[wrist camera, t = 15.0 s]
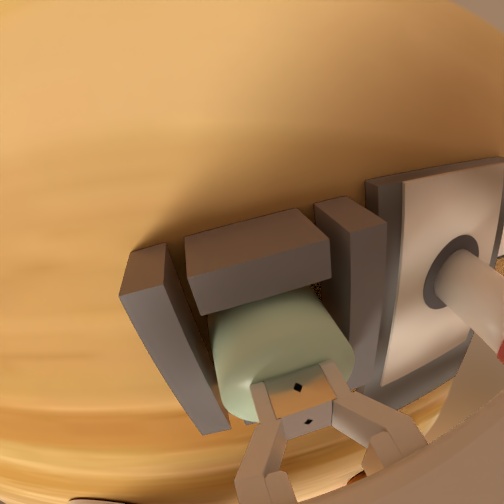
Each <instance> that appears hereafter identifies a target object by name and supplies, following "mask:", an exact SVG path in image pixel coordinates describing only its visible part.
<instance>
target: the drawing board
mask: <svg viewBox="0 0 504 504" xmlns="http://www.w3.org/2000/svg"><path fill="white" fill-rule="evenodd" d="M365 190H366V209H368V210H369V211H371V212H372V213H374V214H375V215H377V216H378V217H380V218H381V219H383V220H384V221H386V222H387V244H386V265H385V279H384V292H383V302H382V312H381V321H380V329H379V336H378V344H377V350H376V357H375V363H374V369H373V375H372V380H371V382H369V383H367V384H364V385H362V386H360V387H357V391H356V392H359V393H361V394H363V395H365V396H367V397H369V398H371V399H373V400H375V401H377V402H380V403H382V404H384V405H386V406H388V407H390V408H393V409H395V410H398V409H400V408H402V407H404V406H406V405H408V404H410V403H411V402H413V401H415V400H417V399H419V398H420V397H422V396H424V395H426V394H427V393H429V392H431V391H432V390H434V389H436V388H437V387H439V386H441V385H442V384H444V383H445V382H447V381H449V380H450V379H452V378H453V377H455V376H456V374H457V371H458V369H459V367H460V365H461V362H462V360H463V358H464V356H465V354H466V351H467V349H468V346H469V344H470V342H471V339H472V337H473V334H474V331H473V330H472V329H471V328H470V327H469V326H468V325H467V324H466V323H465V322H464V321H463V320H462V319H461V318H460V317H459V316H458V315H457V314H456V313H455V312H453V311H452V310H451V309H450V308H449V307H448V306H447V305H446V304H445V303H444V302H443V301H442V300H440V299H439V298H438V297H437V296H436V294H435V290H434V286H435V281H436V277H437V275H438V273H439V270H440V269H441V267H442V265H443V264H444V262H445V261H446V260H447V259H448V257H449V256H450V255H452V254H453V253H454V252H456V251H457V250H460V249H466V250H467V251H469V252H470V253H472V254H473V255H475V256H476V257H478V258H479V259H480V260H482V261H483V262H485V263H486V264H488V265H489V266H490V267H492V268H493V269H495V265H496V261H497V256H498V252H499V248H500V243H501V238H502V233H503V228H504V158H503V157H493V158H486V159H480V160H473V161H467V162H461V163H455V164H449V165H443V166H437V167H432V168H426V169H421V170H415V171H410V172H405V173H400V174H394V175H389V176H384V177H379V178H374V179H369V180H365Z"/></svg>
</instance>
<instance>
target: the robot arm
mask: <svg viewBox="0 0 504 504" xmlns="http://www.w3.org/2000/svg"><path fill="white" fill-rule="evenodd" d="M249 387H250V392H251V395H252V399H253V402H254V406H255V409H256V412H257V416H258V419H259V422H260V425H256V427H255V429H254V432H253V435H252V437H251V440H250V442H249V445H248V447H247V450H246V452H245V455H244V457H243V460H242V462H241V465H240V467H239V469H238V472H237V474H236V477H235V479H234V484H235V489H236V493H237V497H238V501H239V504H504V389H503V390H502V391H501V392H499V393H498V394H497V395H496V396H495V397H494V398H492V399H491V400H490V401H489V402H487V403H486V404H485V405H484V406H482V407H481V408H480V409H479V410H477V411H476V412H475V413H473V414H472V415H471V416H469V417H468V418H467V419H465V420H464V421H463V422H461V423H460V424H458V425H457V426H455V427H454V428H453V429H451V430H450V431H448V432H447V433H445V434H444V435H442V436H441V437H439V438H437V439H436V440H434V441H433V442H431V443H429V444H428V443H427V442H426V440H425V438H424V437H423V435H422V434H421V432H420V431H419V429H418V427H417V426H416V424H415V423H414V421H413V420H412V418H411V417H410V416H408V415H406V414H404V413H402V412H399V411H397V410H395V409H393V408H390V407H388V406H386V405H384V404H382V403H380V402H377V401H375V400H373V399H371V398H369V397H367V396H365V395H363V394H361V393H359V392H356V391H355V392H353V393H352V392H351V390H350V388H349V386H348V385H347V383H346V381H345V379H344V378H343V376H342V374H341V373H340V371H339V369H338V367H337V366H336V364H335V362H334V361H333V360H332V359H329V360H327V361H324V362H321V363H319V364H315V365H312V366H309V367H306V368H304V369H301V370H298V371H295V372H292V373H291V374H287V375H284V376H281V377H277V378H274V379H270V380H267V381H264V382H259V383H256V384H252V385H249ZM331 425H332V427H334V428H336V429H337V430H339V431H340V432H342V433H343V434H345V435H346V436H348V437H350V438H351V439H353V440H354V441H356V442H358V443H359V444H361V445H362V446H364V447H366V448H367V451H366V453H365V456H364V459H363V461H362V464H361V465H362V467H363V469H364V471H365V473H366V475H367V477H365V478H363V479H360V480H358V481H356V482H353V483H351V484H349V485H346V486H344V487H341V488H339V489H336V490H333V491H331V492H328V493H325V494H322V495H320V496H317V497H314V498H311V499H308V500H304V501H301V502H297V500H296V497H295V494H294V492H293V489H292V486H291V483H290V481H289V478H288V475H287V472H284V471H281V470H280V466H281V463H282V459H283V456H284V452H285V448H286V445H287V440H290V439H293V438H296V437H299V436H302V435H305V434H307V433H310V432H313V431H316V430H319V429H322V428H325V427H328V426H331ZM279 470H280V471H279ZM68 504H123V503H116V502H108V501H98V500H71V501H69V502H68Z"/></svg>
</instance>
